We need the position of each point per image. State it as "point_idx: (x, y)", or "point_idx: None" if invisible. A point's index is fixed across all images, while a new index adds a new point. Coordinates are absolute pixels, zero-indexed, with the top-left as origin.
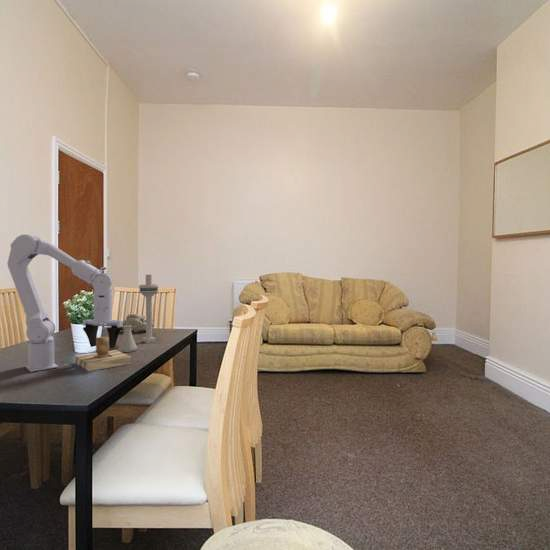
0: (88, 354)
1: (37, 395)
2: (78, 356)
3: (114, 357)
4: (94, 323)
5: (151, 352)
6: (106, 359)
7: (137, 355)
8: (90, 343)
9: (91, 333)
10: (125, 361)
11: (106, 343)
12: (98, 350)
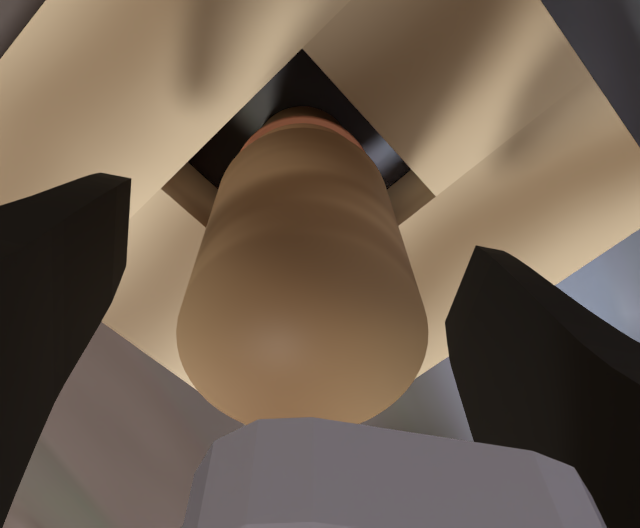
0: None
1: None
2: (629, 174)
3: (103, 127)
4: (467, 467)
5: (46, 523)
6: (151, 5)
7: (111, 442)
8: (517, 264)
9: (572, 410)
10: None
11: (201, 246)
12: (327, 147)
